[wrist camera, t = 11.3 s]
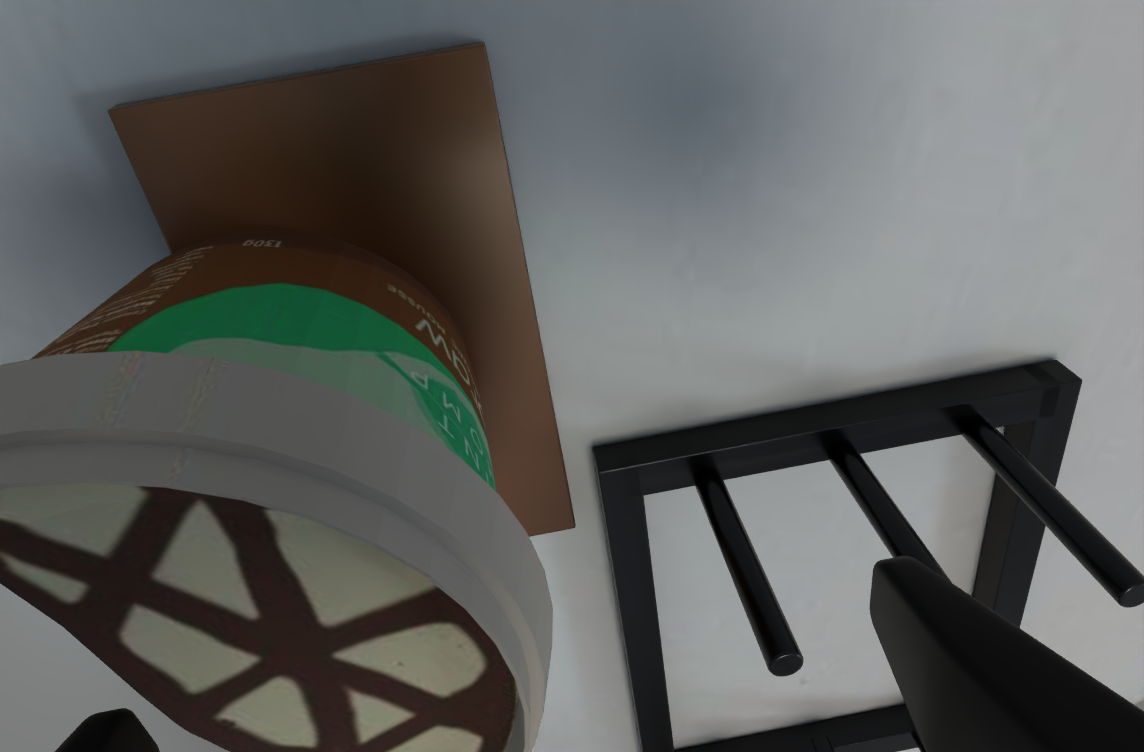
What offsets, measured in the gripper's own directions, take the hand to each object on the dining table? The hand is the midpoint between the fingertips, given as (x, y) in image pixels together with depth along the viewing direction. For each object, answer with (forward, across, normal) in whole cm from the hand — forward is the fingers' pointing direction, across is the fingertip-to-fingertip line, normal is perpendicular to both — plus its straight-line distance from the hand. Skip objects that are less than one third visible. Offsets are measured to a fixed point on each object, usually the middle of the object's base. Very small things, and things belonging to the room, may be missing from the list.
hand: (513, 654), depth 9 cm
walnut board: (+12, +3, +2) cm, 13 cm away
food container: (+12, +3, +2) cm, 12 cm away
